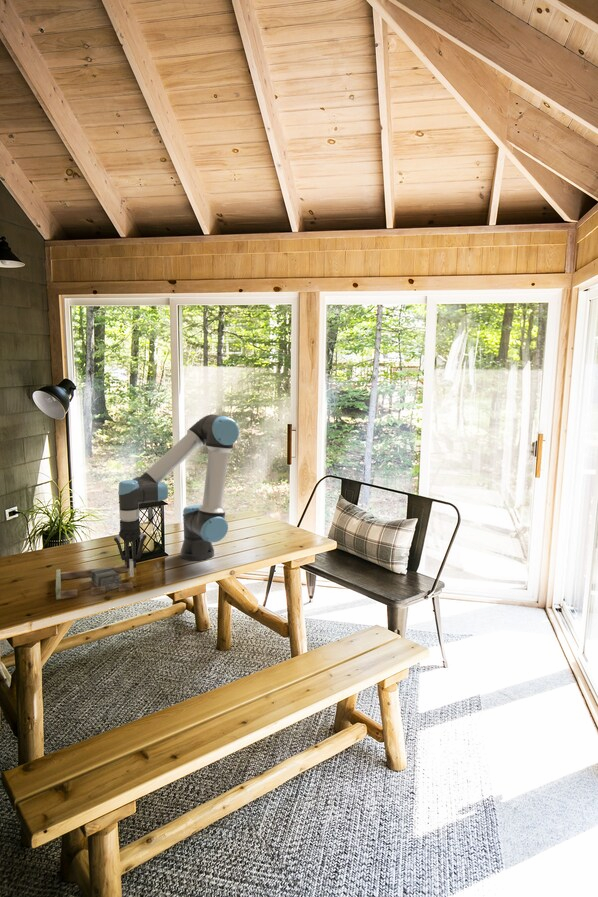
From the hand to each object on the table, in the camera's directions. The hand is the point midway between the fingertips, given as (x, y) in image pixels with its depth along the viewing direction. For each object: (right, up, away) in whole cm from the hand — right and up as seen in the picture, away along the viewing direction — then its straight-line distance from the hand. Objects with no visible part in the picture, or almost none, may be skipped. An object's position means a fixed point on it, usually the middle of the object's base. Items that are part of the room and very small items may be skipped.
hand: (131, 575), depth 248 cm
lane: (-13, -2, -5) cm, 14 cm away
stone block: (-8, -3, -4) cm, 10 cm away
